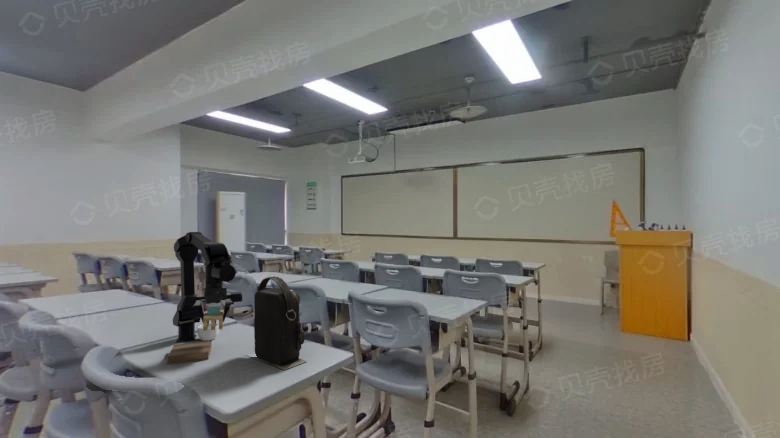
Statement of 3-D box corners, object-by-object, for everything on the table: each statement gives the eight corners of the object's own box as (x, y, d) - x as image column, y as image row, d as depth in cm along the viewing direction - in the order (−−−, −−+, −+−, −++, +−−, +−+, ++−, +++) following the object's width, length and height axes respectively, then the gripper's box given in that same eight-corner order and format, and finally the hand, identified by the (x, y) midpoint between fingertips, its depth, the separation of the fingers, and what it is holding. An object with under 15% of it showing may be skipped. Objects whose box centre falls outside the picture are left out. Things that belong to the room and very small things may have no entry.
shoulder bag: (244, 355, 125) (244, 275, 126) (267, 348, 133) (267, 272, 133) (284, 370, 112) (284, 280, 112) (307, 362, 119) (307, 277, 120)
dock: (174, 351, 129) (174, 344, 129) (211, 347, 134) (211, 340, 134) (167, 364, 117) (167, 356, 117) (208, 359, 122) (208, 351, 122)
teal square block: (208, 312, 129) (208, 305, 129) (220, 311, 131) (220, 304, 131) (207, 315, 126) (207, 308, 126) (219, 314, 127) (219, 307, 127)
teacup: (203, 343, 138) (204, 329, 138) (193, 340, 142) (193, 326, 142) (228, 336, 146) (228, 323, 147) (217, 333, 151) (217, 321, 151)
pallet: (205, 323, 132) (205, 310, 132) (223, 321, 134) (223, 309, 134) (203, 330, 122) (203, 317, 122) (222, 328, 125) (222, 315, 125)
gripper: (181, 283, 117) (180, 331, 117) (242, 280, 125) (242, 325, 125) (185, 279, 128) (184, 323, 127) (242, 276, 135) (241, 317, 135)
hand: (213, 322), depth 128 cm, fingers closed on pallet, 6 cm apart
